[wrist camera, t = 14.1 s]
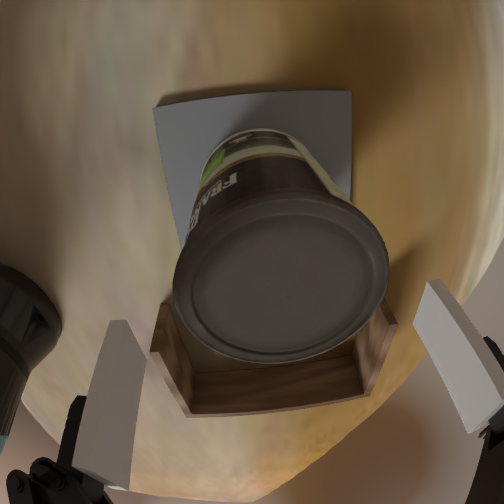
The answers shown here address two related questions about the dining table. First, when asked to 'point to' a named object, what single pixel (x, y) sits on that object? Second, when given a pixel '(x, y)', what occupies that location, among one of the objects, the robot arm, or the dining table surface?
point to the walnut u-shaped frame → (272, 374)
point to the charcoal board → (244, 118)
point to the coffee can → (275, 254)
